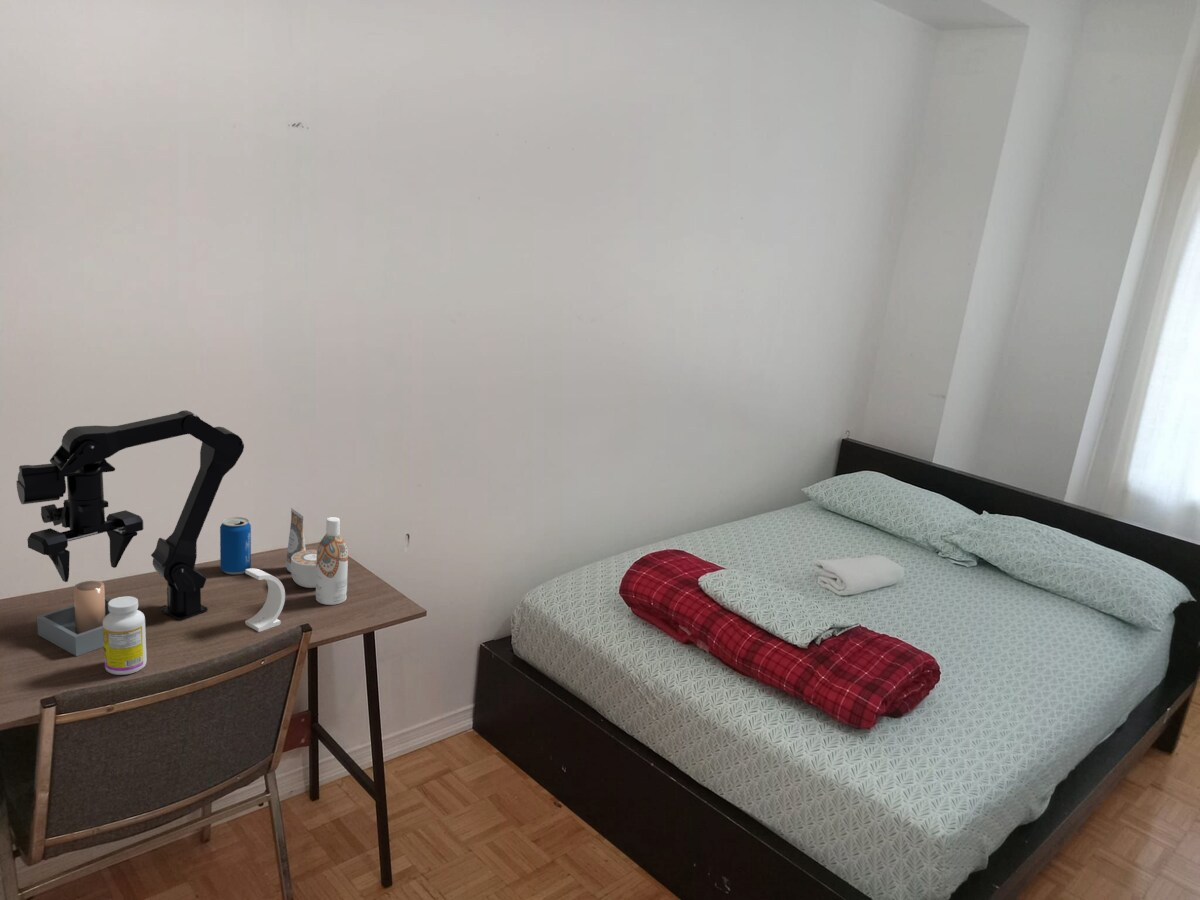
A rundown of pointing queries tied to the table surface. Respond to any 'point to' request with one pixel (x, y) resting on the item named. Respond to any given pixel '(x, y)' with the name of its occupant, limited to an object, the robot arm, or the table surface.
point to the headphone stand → (267, 602)
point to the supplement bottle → (124, 637)
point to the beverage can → (235, 545)
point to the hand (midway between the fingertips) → (90, 574)
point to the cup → (89, 605)
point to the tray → (69, 631)
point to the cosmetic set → (319, 561)
